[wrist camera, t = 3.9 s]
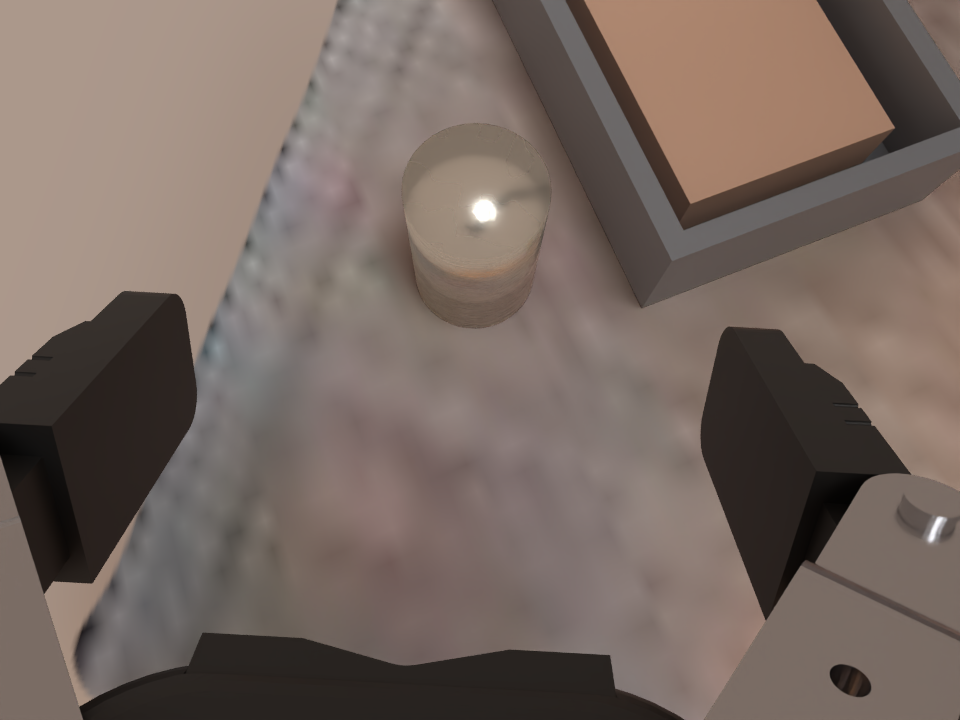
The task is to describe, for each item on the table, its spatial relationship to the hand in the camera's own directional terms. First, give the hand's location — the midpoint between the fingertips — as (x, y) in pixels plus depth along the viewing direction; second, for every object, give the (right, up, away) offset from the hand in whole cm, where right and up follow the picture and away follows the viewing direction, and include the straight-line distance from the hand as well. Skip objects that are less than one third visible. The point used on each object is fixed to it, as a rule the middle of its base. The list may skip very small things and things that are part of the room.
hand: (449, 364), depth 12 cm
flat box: (+11, +14, +26) cm, 32 cm away
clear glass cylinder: (0, +4, +25) cm, 25 cm away
